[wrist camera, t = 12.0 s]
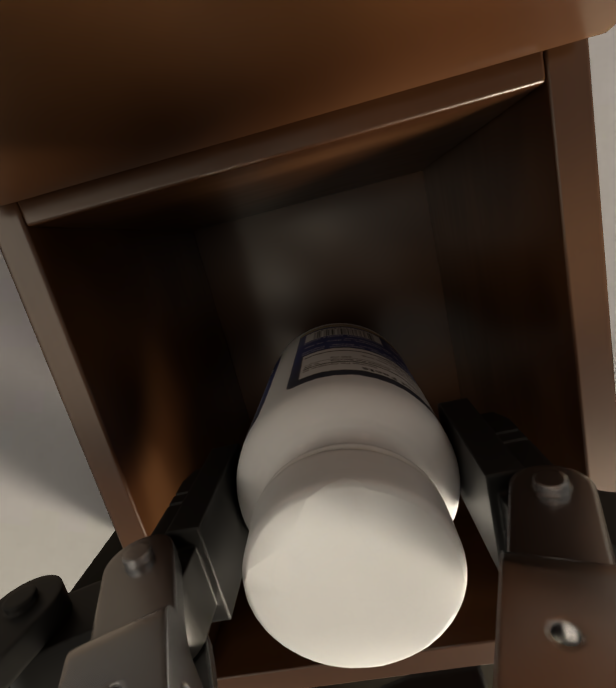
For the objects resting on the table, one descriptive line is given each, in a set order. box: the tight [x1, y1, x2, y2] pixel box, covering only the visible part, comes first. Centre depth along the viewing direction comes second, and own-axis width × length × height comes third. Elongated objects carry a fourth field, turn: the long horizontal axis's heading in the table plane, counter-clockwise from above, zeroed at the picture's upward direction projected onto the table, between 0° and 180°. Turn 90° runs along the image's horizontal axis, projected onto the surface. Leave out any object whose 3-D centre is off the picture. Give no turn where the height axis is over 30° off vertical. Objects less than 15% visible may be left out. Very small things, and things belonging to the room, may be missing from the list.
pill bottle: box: [236, 323, 467, 668], centre depth 12 cm, size 5×5×10 cm
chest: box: [0, 38, 616, 688], centre depth 16 cm, size 15×13×12 cm
